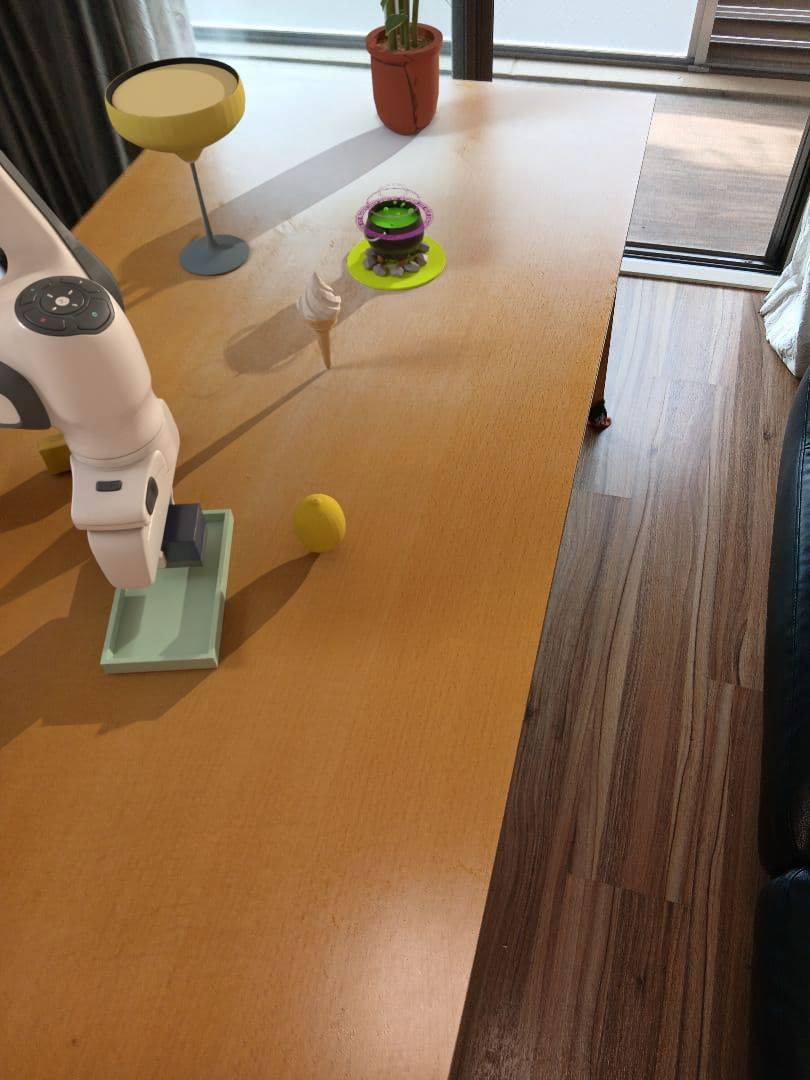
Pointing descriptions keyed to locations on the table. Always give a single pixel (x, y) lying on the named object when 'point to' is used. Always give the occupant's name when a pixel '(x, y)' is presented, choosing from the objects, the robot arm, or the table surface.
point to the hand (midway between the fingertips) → (163, 538)
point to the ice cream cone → (320, 312)
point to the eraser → (185, 536)
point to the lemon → (319, 523)
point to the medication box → (55, 453)
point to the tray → (173, 612)
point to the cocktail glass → (183, 132)
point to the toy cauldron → (395, 246)
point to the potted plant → (404, 68)
